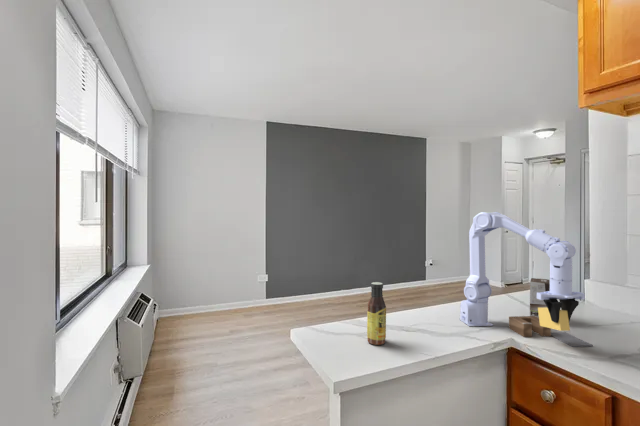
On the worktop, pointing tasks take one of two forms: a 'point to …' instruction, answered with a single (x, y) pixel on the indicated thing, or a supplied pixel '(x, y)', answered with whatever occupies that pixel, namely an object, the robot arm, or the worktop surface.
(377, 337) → the sauce bottle
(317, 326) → the worktop surface
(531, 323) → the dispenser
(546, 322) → the yellow bar
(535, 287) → the coffee box
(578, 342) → the mat
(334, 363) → the worktop surface
